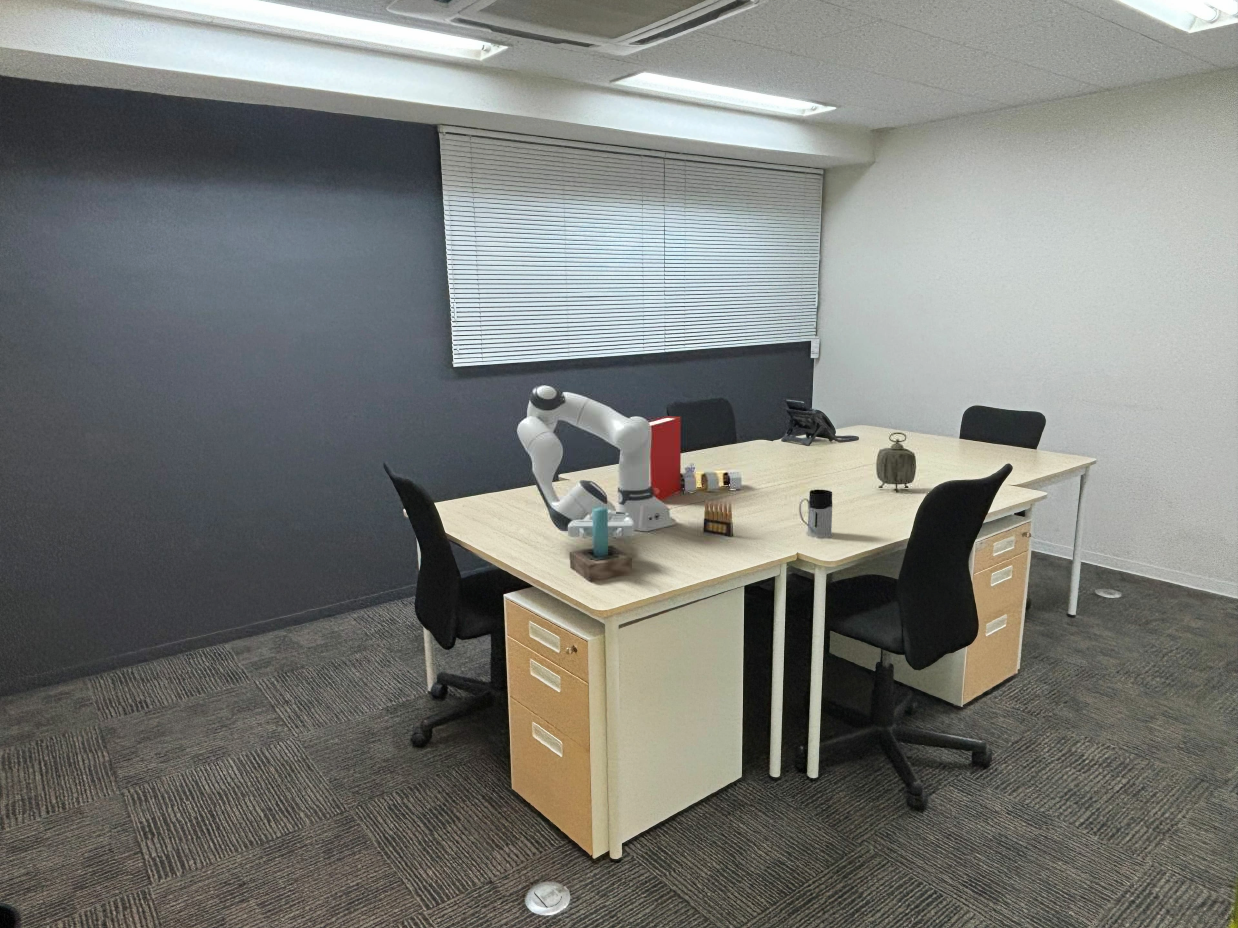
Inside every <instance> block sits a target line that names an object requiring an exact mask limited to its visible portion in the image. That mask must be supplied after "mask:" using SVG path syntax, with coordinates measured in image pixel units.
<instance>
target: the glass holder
mask: <svg viewBox="0 0 1238 928" xmlns="http://www.w3.org/2000/svg"><path fill="white" fill-rule="evenodd" d="M808 496H809V499H807V498H802V499H801V500H800V502H799V504H798V512H799V517H800V519H801V521H802V522H803V523H804V524H805V525H806V526H807V531H806V536H807V537H810V536H811V538H814V537H817V538H816V539H827V538H826V537H829V538H831V537H830V536H832V535H833V532H832V529H833V527H832V525H833V524H832V523H833V492H832V491H831V490H828V489H812V490H810V491H809V495H808ZM804 501H806V502H807V509H808V510H807V511H808V512H807V513H808V514H807V516H808V517H807V522H806V521H805V520H804V517H803V514H802V503H803V502H804ZM832 537H833V536H832Z"/></svg>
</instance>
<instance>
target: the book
mask: <svg viewBox="0 0 1238 928" xmlns="http://www.w3.org/2000/svg"><path fill="white" fill-rule="evenodd" d="M681 420H682V419H681V416H672V415H662V416H659V417H656V418H652V419H647V421H648V422H649V424H650V426H651V431H652V432H651V452H650V464H649V486H650V487H652V488H657V489H658V491H659V493H658V494H655V493H653V494H654V497H656V498H657V499H659V500H660V501H663V500H665V499H666V497H667V498H668V496H669V497H671V496H673V495H675V494H677V493H676V492H678V493H680V492H682V491H681V490H682V489H681V473H682V472H681V470H682V466H681V463H682V462H681V461H682V460H681V459H682V458H681V457H682V456H681V451H682V450H681V445H682V441H681V433H682V431H681V426H682V425H681ZM679 491H680V492H679ZM674 493H675V494H674ZM672 494H673V495H672ZM670 495H671V496H670Z"/></svg>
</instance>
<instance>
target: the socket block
mask: <svg viewBox="0 0 1238 928" xmlns="http://www.w3.org/2000/svg"><path fill="white" fill-rule="evenodd" d="M569 567H570V569H571V570H572V571H574V572H575V571H576V573H577V574H579V575H580V576H581V577H582V576H583V577H582V578H584V579H585V578H586V579H587V580H586V579H585V580H586V581H588V582H589V581H590V582H595V581H594V580H596V581H600V580H604V579H605V580H606V579H612V578H617V577H622V576H628V575H633V557H632V556H630V555H628V554H627V553H625V552H623V551H622V550H620V549H619V548H616V547H615V546H613V545H608V556H605V557H599V558H595V557H594V556H593V547H592V548H587V549H586V548H585V549H580V550H574V551H570V552H569ZM611 577H612V578H611Z"/></svg>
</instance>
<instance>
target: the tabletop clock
mask: <svg viewBox="0 0 1238 928" xmlns="http://www.w3.org/2000/svg"><path fill="white" fill-rule="evenodd" d="M893 435H902V436H904V439H903V440H902V439H901V440H900V439H899V438H896V440H893V439H892V438H891V437H893ZM888 439H889V440H890V441H891V442H893V443H892V444H891V446H890V447H885V448H881V449H879V451H878V453H877V457H876V464H875V465H876V466H875V468H876V469H875V471H876V476H877V479H878V480H879V481H880V482H881V483H882V484H881V485H879V486H878V489H879V488H882V489H883V488H884V487H883V486H885V484H887V485H895V488H894V490H895V491H898V492H899V488H898V485H904V489H905V488H908V489H909V488H910V487H909V486H908V485H909V484H911V483H913V482H914V480H915V477H916V471H917V458H916V454H915V452H913V451H911V450H910V449H907V448H905V447H904V446H903V444H902V443H903V442H905V441H907V435H906V434H905V433H903V432H897V431H896V432H892V433H891V434H889V437H888ZM895 491H894V492H895Z"/></svg>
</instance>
